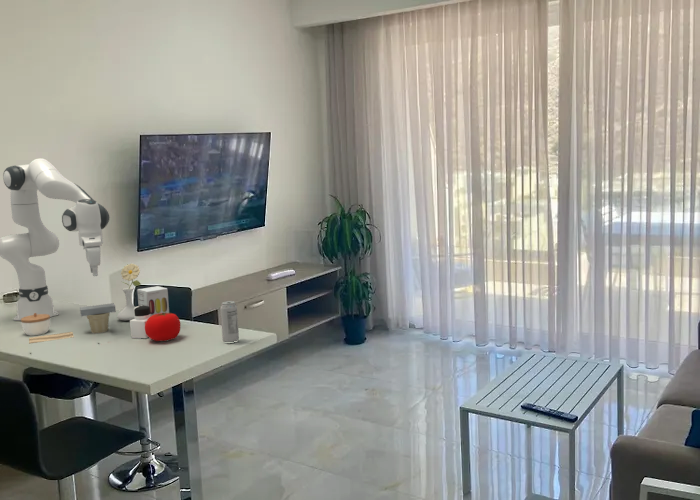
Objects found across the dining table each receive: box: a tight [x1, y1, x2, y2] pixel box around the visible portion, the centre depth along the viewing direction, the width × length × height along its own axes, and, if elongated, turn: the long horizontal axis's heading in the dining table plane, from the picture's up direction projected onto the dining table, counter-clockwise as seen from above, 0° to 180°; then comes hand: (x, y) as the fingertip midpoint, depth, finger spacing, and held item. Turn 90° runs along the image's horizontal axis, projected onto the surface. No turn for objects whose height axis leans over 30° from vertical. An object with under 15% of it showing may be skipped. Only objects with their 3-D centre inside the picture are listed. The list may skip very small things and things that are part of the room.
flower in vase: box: [116, 262, 142, 321], centre depth 291 cm, size 13×11×25 cm
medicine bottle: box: [129, 305, 150, 339], centre depth 262 cm, size 7×7×12 cm
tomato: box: [145, 312, 181, 342], centre depth 256 cm, size 14×13×10 cm
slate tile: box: [79, 302, 117, 317], centre depth 269 cm, size 6×13×2 cm, turn 116°
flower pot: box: [86, 312, 111, 334], centre depth 270 cm, size 9×9×9 cm
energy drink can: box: [219, 300, 240, 342], centre depth 247 cm, size 6×6×15 cm
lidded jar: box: [20, 313, 51, 337], centre depth 271 cm, size 11×11×9 cm
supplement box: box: [137, 285, 170, 317], centre depth 273 cm, size 10×9×17 cm
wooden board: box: [28, 331, 74, 344], centre depth 263 cm, size 10×16×1 cm, turn 116°
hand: (94, 274), depth 267 cm, fingers open, 8 cm apart
